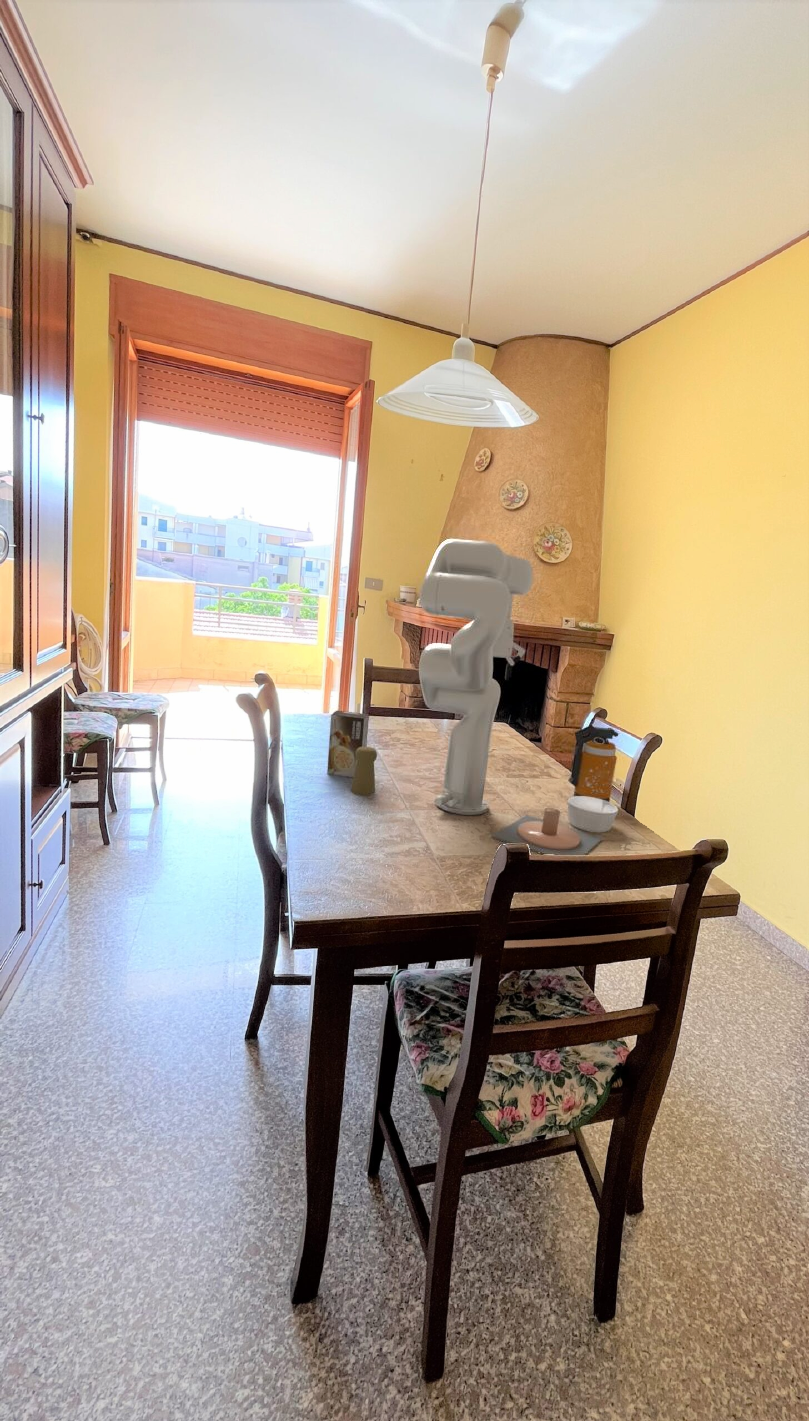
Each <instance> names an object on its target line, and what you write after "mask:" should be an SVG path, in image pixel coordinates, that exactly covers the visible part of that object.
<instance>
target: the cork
mask: <svg viewBox="0 0 809 1421" xmlns="http://www.w3.org/2000/svg"><path fill="white" fill-rule="evenodd" d="M355 756H356V759H357V763H356V768H355V772H354V777H352V782H351V786H350V792H351V793H352V794H354V795H359V796H371V795H372V794H373V795H374V793H375V794H376V783H375V782H376V778H375V776H376V775H375V761H376V760H377V758H378V752H377V750H376V749H375V748H374V747H371V746H367V747H359V748H358V749H357V750H356V753H355Z"/></svg>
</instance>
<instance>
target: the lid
mask: <svg viewBox="0 0 809 1421" xmlns="http://www.w3.org/2000/svg"><path fill="white" fill-rule="evenodd" d="M560 815H561V812H560V810H559V809H557V808H552V807H545V808H544V811H543V816H542V817H543V819H542V820H543V822H541V821H531V822H525V823H522V824H520V825H519V827H518V835H519V836H520V837H521V838H522V839H523V840H525V841H526V842H528V843H531V844H533V845H536V846H539V847H543V848H547V849H554V850H569V849H574V848H576V847H578V846H579V844H580V836H579V835H578V834H577V833H576V832H575V831H573V830H571V829H572V828H571V829H569V828H570V827H568V828H567V826H564V825H560V824H559V821H560Z"/></svg>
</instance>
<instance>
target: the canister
mask: <svg viewBox="0 0 809 1421" xmlns="http://www.w3.org/2000/svg"><path fill="white" fill-rule="evenodd" d="M574 736H575V741H576V743H575V745H574V754H573V755H574V756H573V762H572V767H571V773H570V774H571V775H570V777H569V778H568V780H567V781H568V782H569V784H571V785H572V786H574V791H573V797H574V796H587V797H594V798H598V799H602V800H605V801H607V802H610V800H611V795H612V788H613V782H614V777H615V771H616V765H617V760H618V759H617V758H618V757H617V756H616V750H617V747H616V744H615V743H613V742H611V741H609V739H610V740H613V737H618V736H619V733H618V732H617V731H615V729H613V728H612V727H608V728H607V727H606V728H605V727H598V726H597V727H596V726H594V725H593V724H590V725H587V726H586V727H584V728H581V729H580V730H578V731H576V732H574Z"/></svg>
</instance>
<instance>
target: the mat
mask: <svg viewBox="0 0 809 1421" xmlns="http://www.w3.org/2000/svg"><path fill="white" fill-rule="evenodd" d="M531 821H541V822H543V819H540V818H538V817H535V816H530V815H527V814H526V815H524V816H522V817H521V818H519V819H517V820H515V821H514V822H512V823H510V824H509V825H507V826H505V827H504V828H502V829H500V830H499V831H497V832H495V833H493V834H492V835H491V838H492V839H495V840H499V841H501V842H504V843H507V844H510V843H525V844H528V845H529V848H530V850H529V851H532V852H533V853H538V852H540V853H538V854H540V855H543V854H554V855H585V856H586V855H587V854H588V853H590V850H591V849H592V850H593V849H594V848H595V847H596V846H597V845H599V844H600V843H601V842H602V841H603V839H604V838H603V837H600V836H596V835H594V834H590V833H587V832H585V831H580V830H579V829H578V830H577V829H574V828H570V827H567V826H566V827H567V828H569V829H571V830H573V831H575V832H576V833H577V834H578V835H579V836H580V844H579V846H578V847H576V848H574V849H569V850H554V849H547V848H543V847H539V846H536V845H533V844H531V843H528V842H526V841H525V840H523V839H522V838H521V837H520V836H519V835H518V827H519V825H520V824H522V823H525V822H531ZM600 841H601V842H600ZM592 850H591V851H592ZM587 852H588V853H587Z"/></svg>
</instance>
